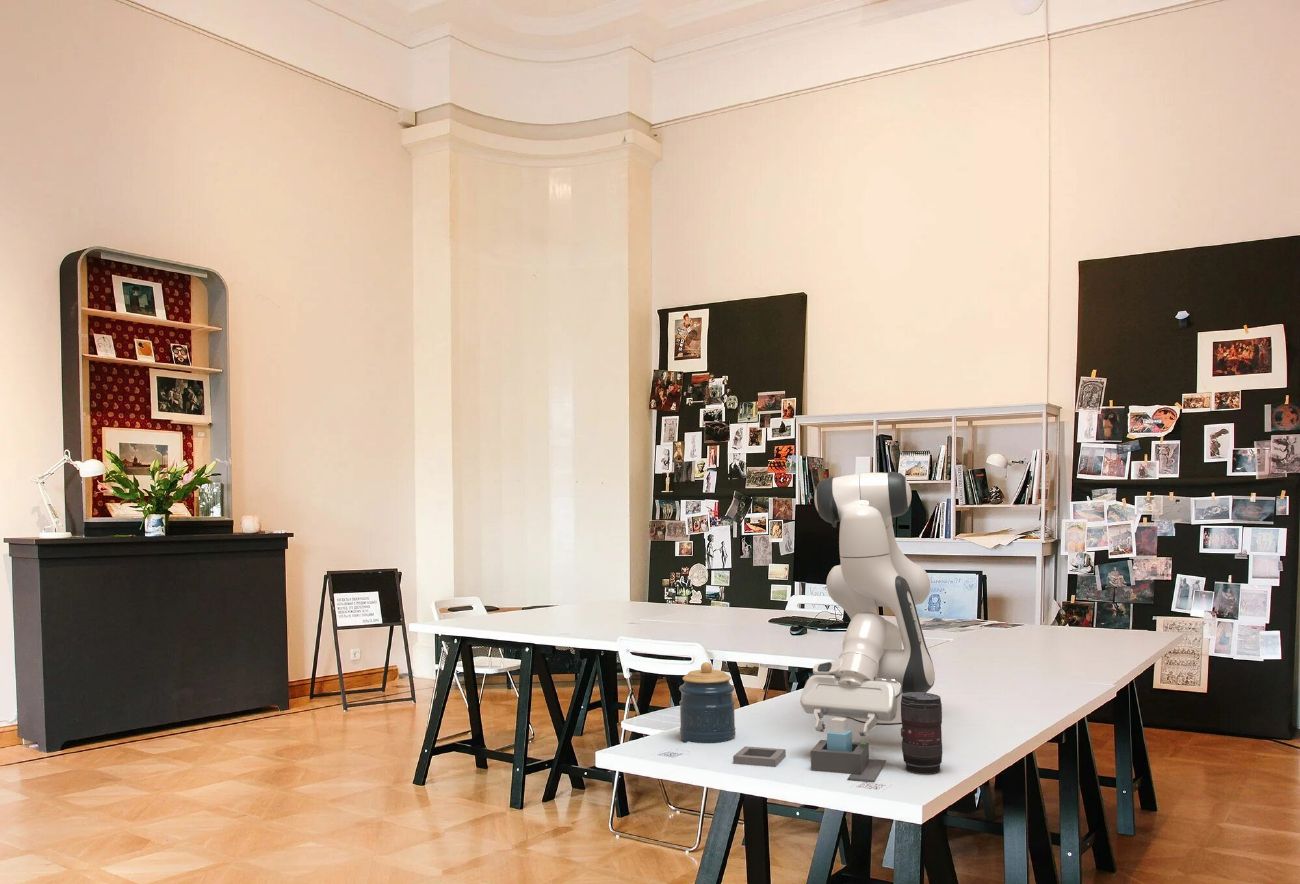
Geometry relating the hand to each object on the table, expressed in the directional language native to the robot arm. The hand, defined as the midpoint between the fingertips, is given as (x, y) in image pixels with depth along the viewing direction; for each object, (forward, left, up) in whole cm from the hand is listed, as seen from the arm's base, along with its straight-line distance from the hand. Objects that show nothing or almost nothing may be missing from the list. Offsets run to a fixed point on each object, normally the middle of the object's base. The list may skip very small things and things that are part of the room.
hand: (840, 732), depth 205 cm
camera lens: (-4, +16, -7) cm, 18 cm away
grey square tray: (0, -17, -7) cm, 19 cm away
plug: (0, 0, -7) cm, 7 cm away
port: (0, 0, -7) cm, 7 cm away
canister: (-17, -34, -8) cm, 39 cm away
